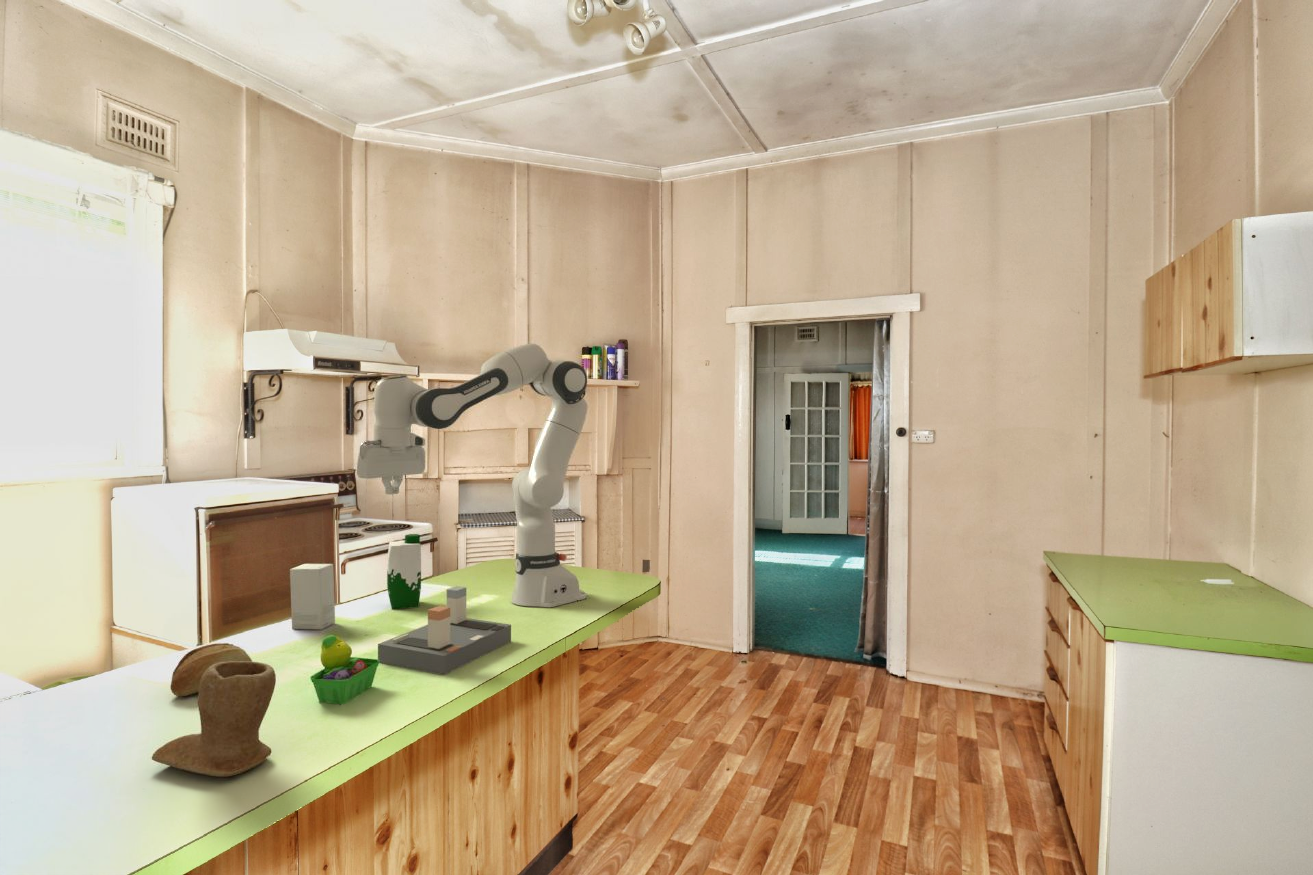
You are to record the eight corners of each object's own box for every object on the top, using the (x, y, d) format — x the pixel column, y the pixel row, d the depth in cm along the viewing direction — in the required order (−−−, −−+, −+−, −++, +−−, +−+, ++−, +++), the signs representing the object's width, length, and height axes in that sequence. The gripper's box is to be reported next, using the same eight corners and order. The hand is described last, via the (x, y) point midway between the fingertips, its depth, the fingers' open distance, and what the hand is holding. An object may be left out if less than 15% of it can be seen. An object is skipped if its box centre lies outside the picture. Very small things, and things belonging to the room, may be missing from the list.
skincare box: (335, 623, 175) (336, 563, 174) (320, 630, 168) (320, 568, 168) (305, 621, 176) (305, 562, 175) (289, 629, 169) (289, 567, 169)
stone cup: (293, 752, 107) (293, 658, 106) (222, 791, 95) (222, 686, 95) (223, 736, 112) (223, 647, 111) (148, 771, 100) (148, 671, 100)
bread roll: (155, 696, 128) (155, 654, 128) (233, 670, 141) (233, 632, 141) (187, 705, 124) (187, 662, 124) (264, 677, 138) (264, 639, 137)
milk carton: (422, 607, 191) (422, 537, 190) (388, 610, 187) (388, 538, 186) (419, 599, 199) (419, 532, 198) (386, 602, 195) (386, 534, 194)
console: (450, 631, 169) (450, 612, 169) (511, 640, 162) (511, 621, 162) (377, 662, 147) (377, 640, 147) (444, 674, 140) (444, 651, 140)
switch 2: (456, 618, 166) (456, 586, 166) (466, 619, 165) (466, 587, 164) (446, 622, 162) (446, 589, 162) (456, 623, 161) (456, 590, 161)
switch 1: (439, 641, 148) (439, 605, 148) (450, 643, 147) (450, 607, 146) (427, 646, 144) (427, 609, 144) (438, 648, 143) (439, 611, 143)
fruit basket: (344, 708, 123) (344, 647, 123) (302, 703, 125) (302, 643, 125) (381, 684, 135) (382, 628, 134) (342, 680, 136) (342, 625, 136)
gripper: (370, 440, 160) (370, 498, 161) (429, 439, 179) (429, 491, 180) (350, 440, 163) (350, 497, 163) (411, 438, 182) (410, 490, 182)
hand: (392, 494), depth 171 cm, fingers closed
